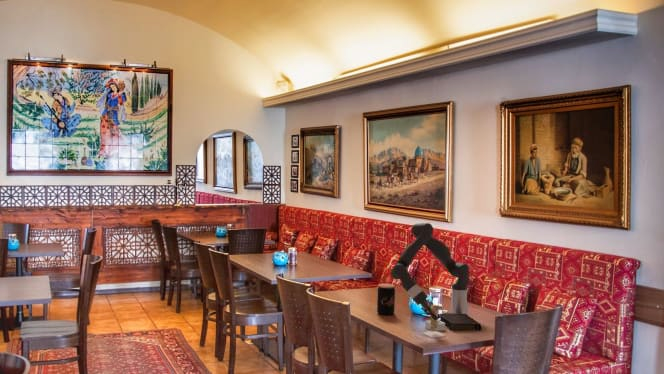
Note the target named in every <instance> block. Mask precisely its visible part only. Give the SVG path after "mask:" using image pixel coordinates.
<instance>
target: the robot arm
mask: <svg viewBox="0 0 664 374" xmlns="http://www.w3.org/2000/svg"><path fill="white" fill-rule="evenodd" d="M411 227H412V228H411V231H412V232H411V233H412V235H413V237H414V238H415V240H414V241H413V242H412V243H410V244H409V245H408V246H406V247H405V248H404V250H403V251H402V253H401V254H400V256H399V258H398V260H397V262H395V264H394V266H393V267H392V268H391V270H390V276H391V278H392V279H393V280H400V281H401V287H402V288H403V289H404V290H405V291H406V292H407V294H408V295H409V296H410V298H411V299H412V300H413V302H414V303H415V304H416V305H417V306H419V305H420V306H421V307H420V310H422V311H423V312H424V313H425V314H426V315H427V316H430V318H431V317H432V318H433V319H434V320H435V321H436V320H437V319H439V320H440V315H439V314H440V313H438V317H437V316H436V315H435V314H434V312H433V311H432V308H431V305H434V303H433V302H432V301H429V300H428V295H427V294H426V292H425V291H424V290H423V289H422V287H421V286H419V284H418V283H416V281H415V280H414V278H412V276H411V274H410V272H409V270H408V268H409V266H410V265H411V263H412V262H413V260H414V259H415V256H416V255H417V254H418V253H419V252H420V250H421V249H422V248H423V246H425V247H426V249H428V250H429V251H430V252H431V253H432V255H433V256H434V257H435V259H437V260H438V261H439V262H440V263H441V264H442V265H443V266H444V268H445V269H446V271H448V274H450V275H451V276H452V277H453V278H457V281H456V282H454V283H452V284H451V302H450V303H451V305H450V306H451V307H450V313H455V314H467V315H468V312H469V302H468V300H467V299H468V296H467V295H468V286H469V279H470V267H469V265H468V264H467V263H463V262H458V261H455V259H454V258H453V257H452V256H451V255H452V253H451V250H450V248H449V247H448V246H447V245H446V244H445V243H444V242H443V241H441V240H440V239H438V238H436V237H434V236H433V234H434V227H433V225H432V224H431V223H430V222H416V223H414V224H413V225H412V226H411ZM468 316H469V315H468Z"/></svg>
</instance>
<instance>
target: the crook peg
mask: <svg viewBox="0 0 664 374" xmlns="http://www.w3.org/2000/svg"><path fill="white" fill-rule="evenodd" d="M431 308H432V311H433V312H434V314H435V315H436V316H437V317H438V314H439V311H444V310H445V309H444V308H445V306H444V305H438V304H433V305H431ZM430 320H431V324H430V329H431V330H437V324H438V319H437V320H436V321H435V320H434V319H433V318H432V317H431V316H430ZM431 330H430V331H431Z"/></svg>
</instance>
